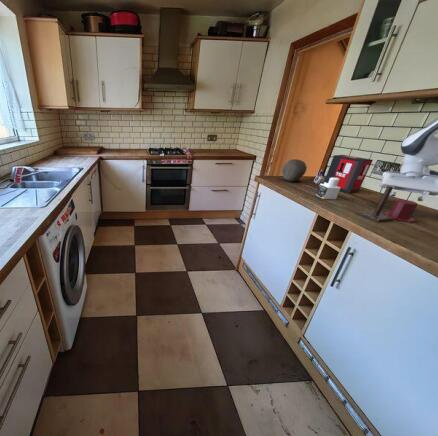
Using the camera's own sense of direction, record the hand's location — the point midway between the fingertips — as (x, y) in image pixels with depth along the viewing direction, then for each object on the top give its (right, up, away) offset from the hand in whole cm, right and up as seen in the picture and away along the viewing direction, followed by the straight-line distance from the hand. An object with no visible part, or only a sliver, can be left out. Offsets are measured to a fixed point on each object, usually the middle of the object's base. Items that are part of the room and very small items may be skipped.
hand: (406, 198), depth 108 cm
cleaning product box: (+3, +10, +41) cm, 42 cm away
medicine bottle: (-20, +2, +24) cm, 31 cm away
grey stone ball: (-21, +17, +54) cm, 60 cm away
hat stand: (-15, -9, 0) cm, 17 cm away
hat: (-3, -9, +1) cm, 10 cm away
